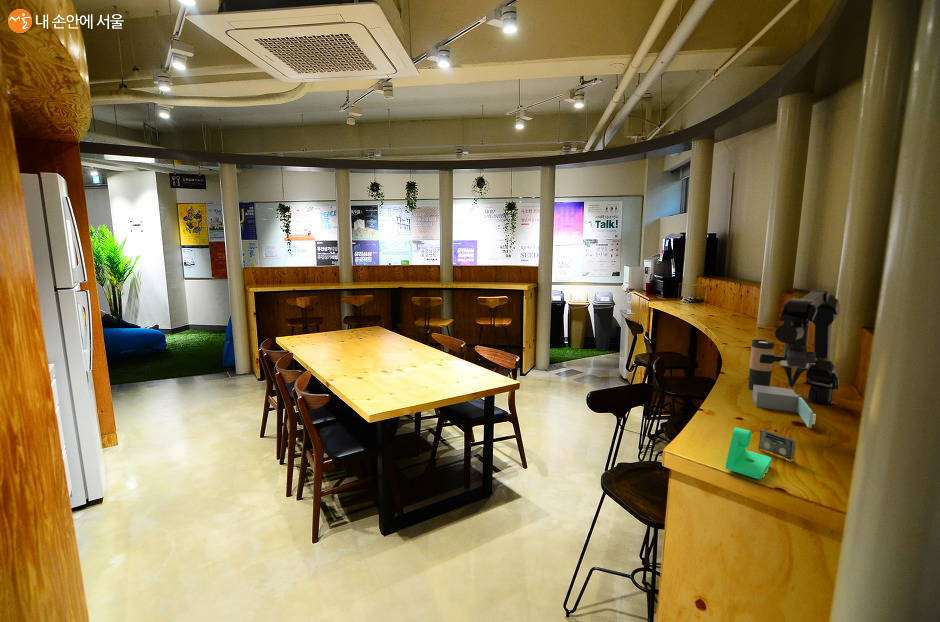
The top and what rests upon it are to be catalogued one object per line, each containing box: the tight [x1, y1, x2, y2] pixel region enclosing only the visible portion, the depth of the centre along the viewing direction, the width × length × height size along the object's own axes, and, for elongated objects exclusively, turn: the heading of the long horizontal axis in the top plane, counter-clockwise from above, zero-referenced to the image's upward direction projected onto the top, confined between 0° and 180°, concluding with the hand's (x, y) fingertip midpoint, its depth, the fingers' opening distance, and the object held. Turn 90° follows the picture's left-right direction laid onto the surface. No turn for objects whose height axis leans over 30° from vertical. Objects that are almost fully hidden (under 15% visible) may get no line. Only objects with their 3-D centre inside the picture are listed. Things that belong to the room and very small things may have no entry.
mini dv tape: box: [758, 429, 796, 460], centre depth 120 cm, size 8×2×6 cm, turn 26°
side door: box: [796, 397, 817, 429], centre depth 145 cm, size 16×2×5 cm, turn 154°
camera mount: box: [725, 426, 772, 480], centre depth 112 cm, size 12×8×10 cm, turn 135°
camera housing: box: [751, 385, 805, 413], centre depth 159 cm, size 14×10×6 cm
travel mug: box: [747, 339, 775, 391], centre depth 177 cm, size 8×8×20 cm
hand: (791, 386), depth 141 cm, fingers closed
